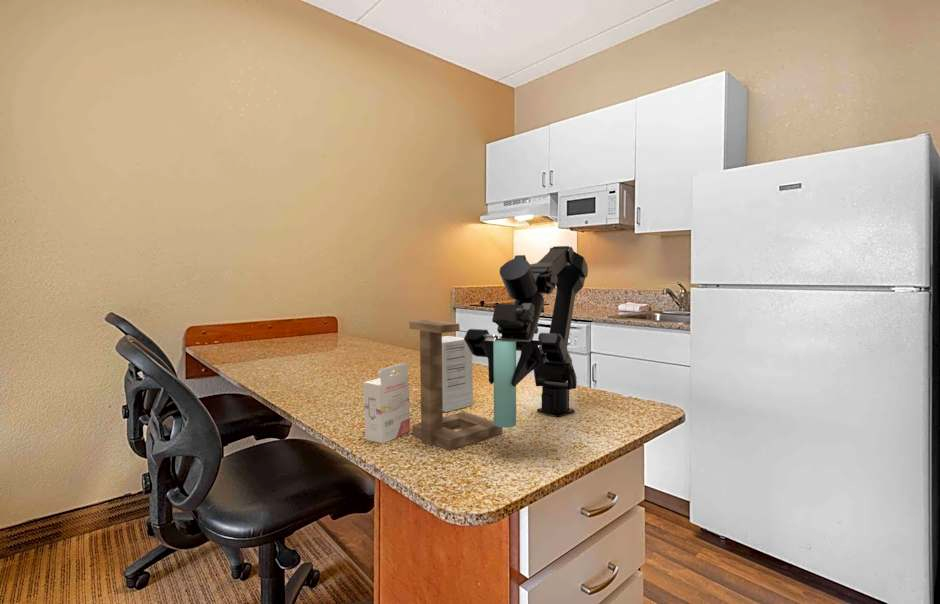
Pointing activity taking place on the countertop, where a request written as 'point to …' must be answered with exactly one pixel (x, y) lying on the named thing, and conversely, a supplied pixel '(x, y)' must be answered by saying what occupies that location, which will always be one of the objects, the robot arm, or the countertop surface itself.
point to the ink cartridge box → (387, 405)
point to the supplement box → (456, 374)
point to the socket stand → (432, 421)
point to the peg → (504, 383)
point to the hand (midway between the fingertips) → (501, 383)
